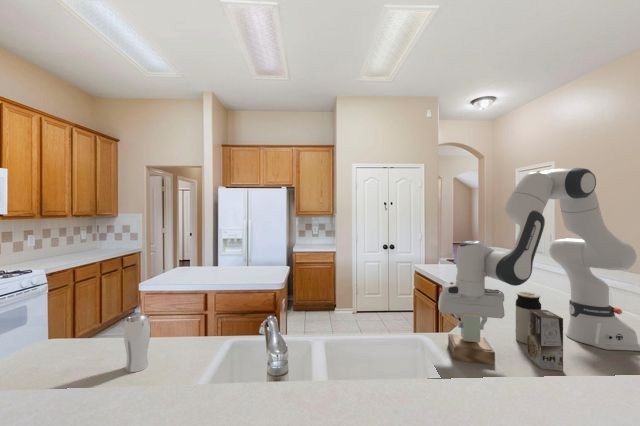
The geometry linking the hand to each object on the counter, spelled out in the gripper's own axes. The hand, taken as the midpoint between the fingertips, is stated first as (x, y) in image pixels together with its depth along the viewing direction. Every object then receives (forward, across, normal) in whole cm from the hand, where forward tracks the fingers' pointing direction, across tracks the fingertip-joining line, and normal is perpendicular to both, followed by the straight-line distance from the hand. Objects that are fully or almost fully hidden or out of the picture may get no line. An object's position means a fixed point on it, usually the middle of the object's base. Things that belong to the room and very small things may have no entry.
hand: (470, 328), depth 101 cm
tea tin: (+4, 0, 0) cm, 4 cm away
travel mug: (+9, -24, -18) cm, 31 cm away
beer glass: (+9, +101, +39) cm, 109 cm away
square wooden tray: (+9, 0, 0) cm, 9 cm away
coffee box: (+9, -22, 0) cm, 24 cm away
